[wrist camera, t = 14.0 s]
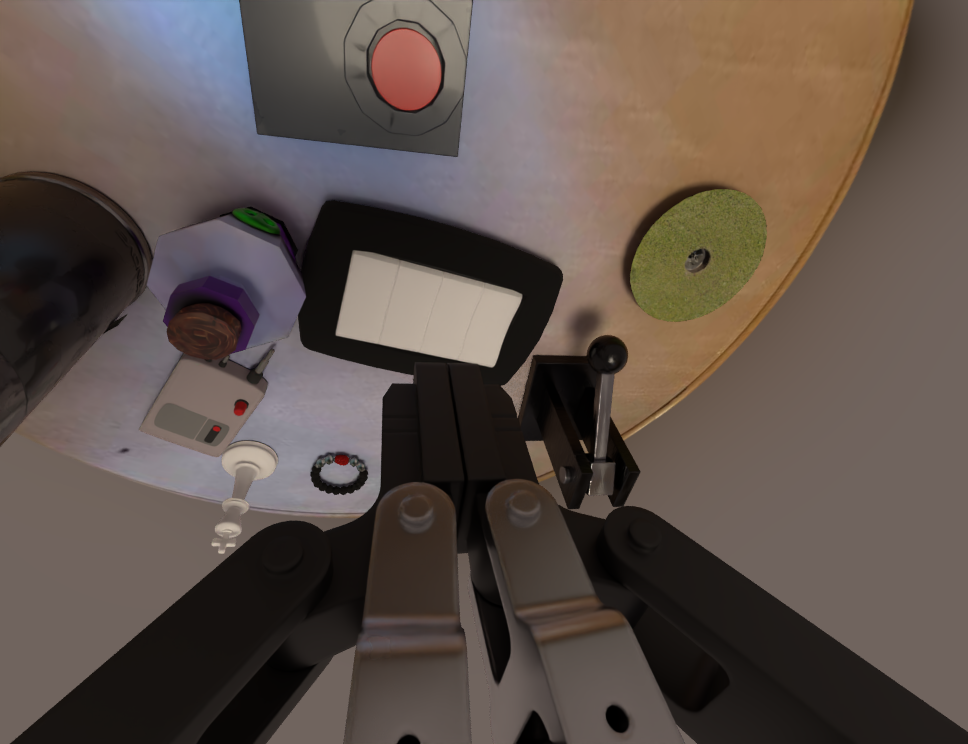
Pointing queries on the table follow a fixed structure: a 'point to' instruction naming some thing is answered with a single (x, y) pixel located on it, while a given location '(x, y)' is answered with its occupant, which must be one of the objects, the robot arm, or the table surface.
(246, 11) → the control box
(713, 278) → the mat
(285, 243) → the potion bottle
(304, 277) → the light switch
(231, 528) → the chess piece
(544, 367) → the switch bracket
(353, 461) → the bracelet
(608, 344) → the switch lever
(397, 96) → the red button
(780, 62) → the table surface
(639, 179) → the table surface
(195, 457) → the table surface
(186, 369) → the grey electronic device
